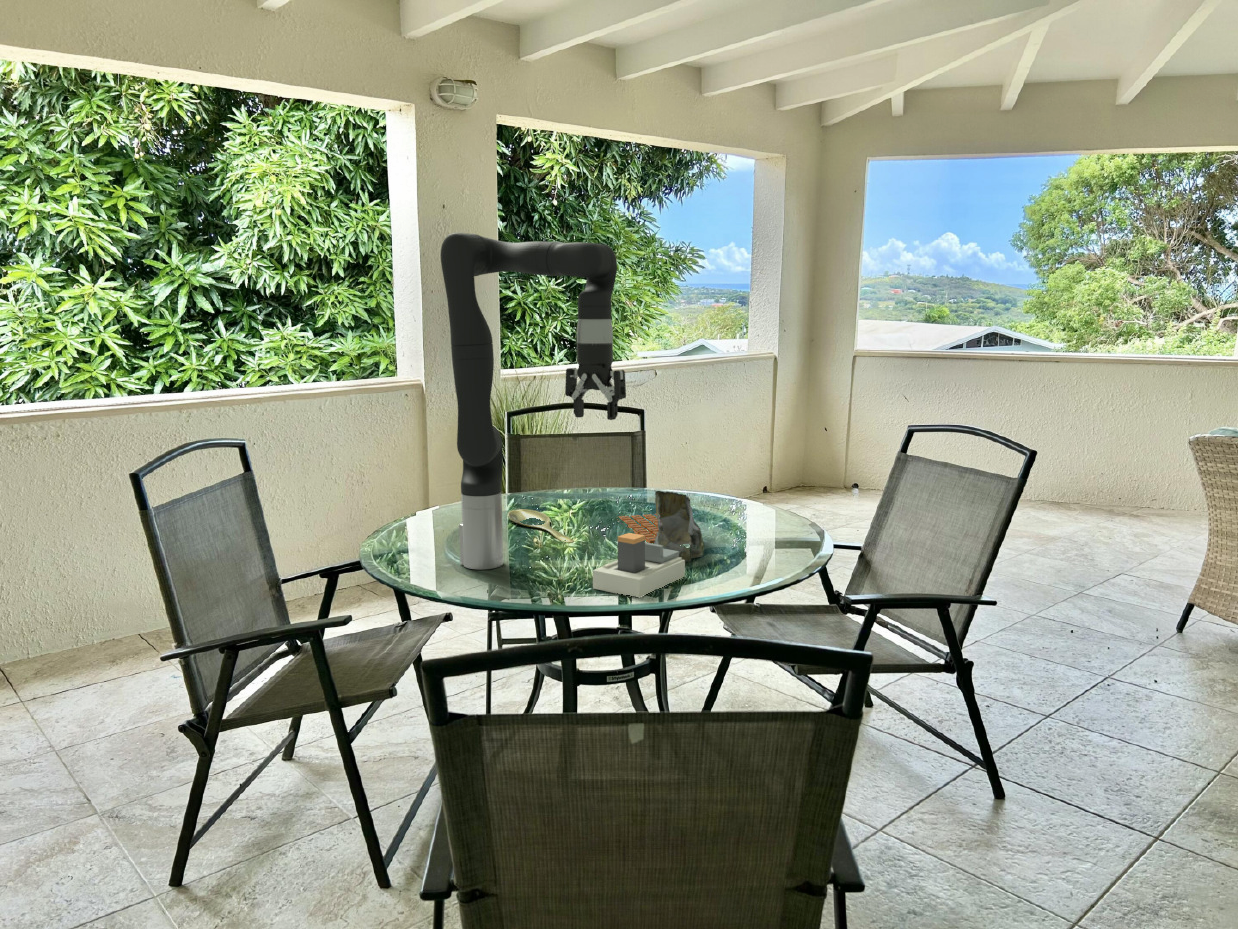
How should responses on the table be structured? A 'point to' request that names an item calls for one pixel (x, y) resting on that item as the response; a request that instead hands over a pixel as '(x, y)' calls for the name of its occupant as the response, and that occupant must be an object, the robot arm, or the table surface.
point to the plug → (631, 553)
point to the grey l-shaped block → (659, 553)
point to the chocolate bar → (644, 524)
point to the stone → (677, 525)
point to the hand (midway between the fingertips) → (595, 418)
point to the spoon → (526, 514)
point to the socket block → (638, 577)
